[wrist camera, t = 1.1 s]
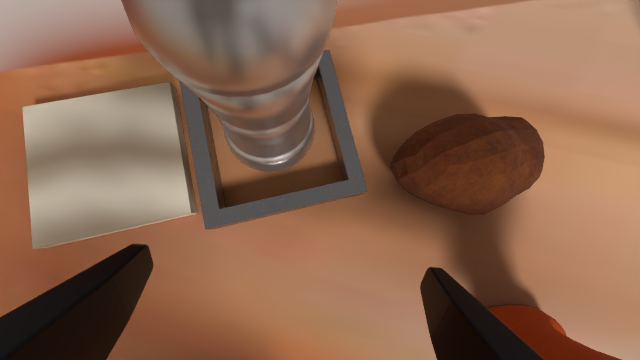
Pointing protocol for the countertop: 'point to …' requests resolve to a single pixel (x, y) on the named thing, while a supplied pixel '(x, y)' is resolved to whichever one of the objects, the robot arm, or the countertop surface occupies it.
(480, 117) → the potato
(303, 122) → the plastic bottle
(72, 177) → the board
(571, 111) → the countertop surface
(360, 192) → the collar
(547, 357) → the toy drill
